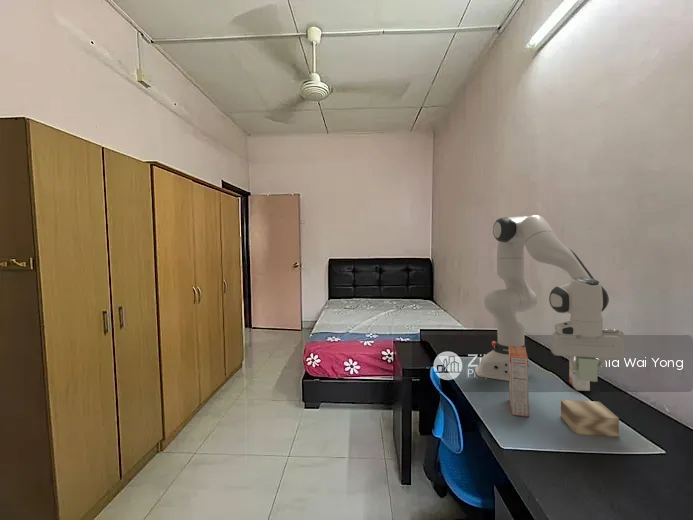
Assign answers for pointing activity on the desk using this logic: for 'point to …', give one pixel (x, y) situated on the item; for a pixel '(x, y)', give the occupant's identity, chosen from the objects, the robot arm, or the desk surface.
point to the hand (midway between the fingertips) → (586, 370)
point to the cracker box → (518, 381)
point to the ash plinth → (589, 418)
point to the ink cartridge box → (577, 380)
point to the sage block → (586, 369)
